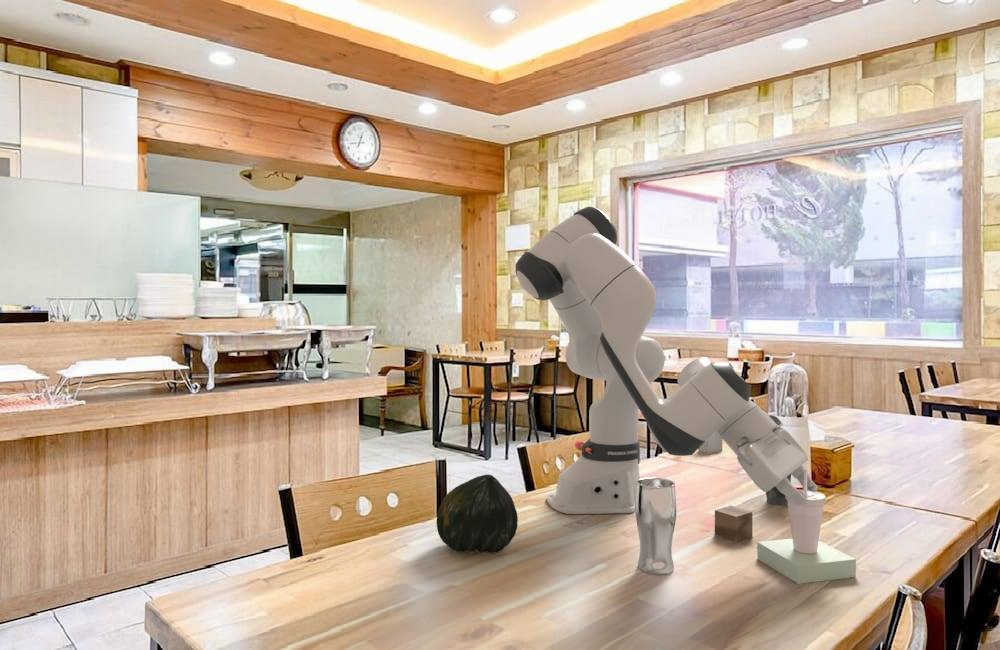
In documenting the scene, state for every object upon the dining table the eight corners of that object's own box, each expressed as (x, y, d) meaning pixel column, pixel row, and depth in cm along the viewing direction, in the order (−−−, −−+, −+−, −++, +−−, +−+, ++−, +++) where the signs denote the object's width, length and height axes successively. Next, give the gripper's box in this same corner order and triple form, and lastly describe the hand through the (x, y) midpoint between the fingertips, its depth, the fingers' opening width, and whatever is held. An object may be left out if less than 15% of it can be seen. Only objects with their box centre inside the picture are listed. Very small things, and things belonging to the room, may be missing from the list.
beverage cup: (798, 507, 147) (798, 418, 147) (763, 506, 149) (763, 417, 148) (790, 498, 154) (791, 413, 154) (757, 496, 156) (758, 412, 155)
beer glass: (653, 579, 110) (653, 490, 109) (627, 565, 116) (626, 480, 115) (685, 571, 113) (685, 484, 112) (657, 557, 119) (657, 475, 119)
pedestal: (798, 583, 108) (798, 565, 107) (757, 558, 118) (757, 542, 118) (855, 577, 110) (855, 559, 110) (810, 552, 121) (810, 536, 121)
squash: (424, 509, 131) (442, 464, 121) (494, 503, 137) (516, 459, 127) (440, 577, 121) (460, 533, 112) (514, 567, 127) (539, 524, 118)
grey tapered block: (722, 450, 205) (722, 418, 204) (708, 453, 201) (708, 421, 200) (712, 448, 208) (712, 417, 207) (698, 451, 204) (698, 419, 203)
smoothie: (825, 546, 116) (825, 466, 115) (826, 559, 110) (826, 475, 109) (785, 541, 118) (785, 463, 118) (784, 553, 112) (784, 472, 112)
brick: (736, 542, 127) (736, 516, 126) (714, 535, 131) (714, 510, 131) (752, 537, 129) (752, 512, 129) (730, 530, 134) (730, 505, 133)
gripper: (744, 432, 110) (807, 501, 104) (779, 415, 126) (836, 474, 120) (718, 455, 112) (777, 523, 107) (755, 435, 128) (809, 494, 123)
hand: (808, 497), depth 113 cm, fingers closed on smoothie, 6 cm apart
